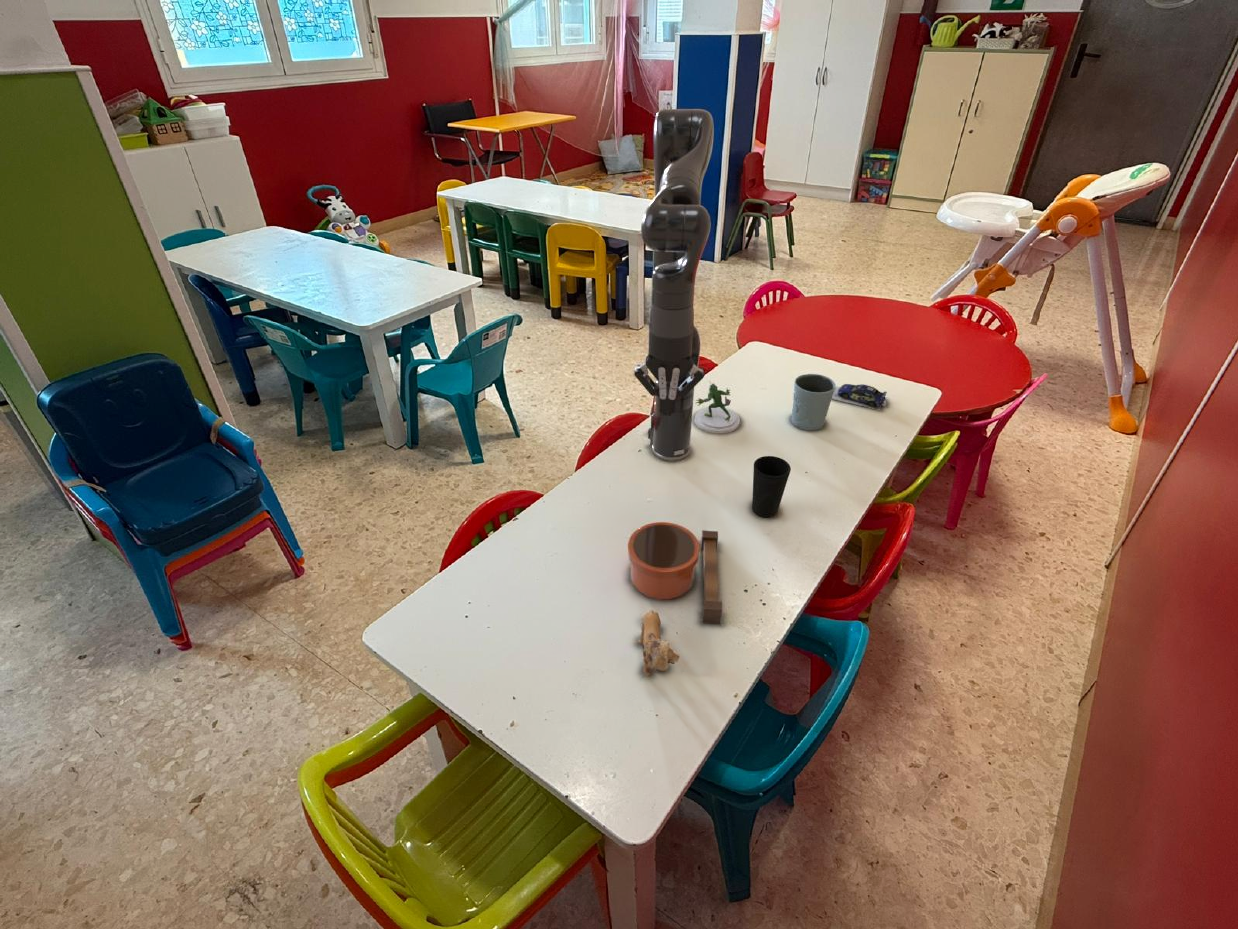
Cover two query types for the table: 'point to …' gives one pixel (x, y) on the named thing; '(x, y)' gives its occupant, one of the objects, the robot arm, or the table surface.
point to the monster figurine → (716, 413)
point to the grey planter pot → (811, 401)
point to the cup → (769, 485)
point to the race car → (860, 396)
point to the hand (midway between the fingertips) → (666, 413)
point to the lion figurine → (655, 645)
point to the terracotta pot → (663, 559)
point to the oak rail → (710, 578)
